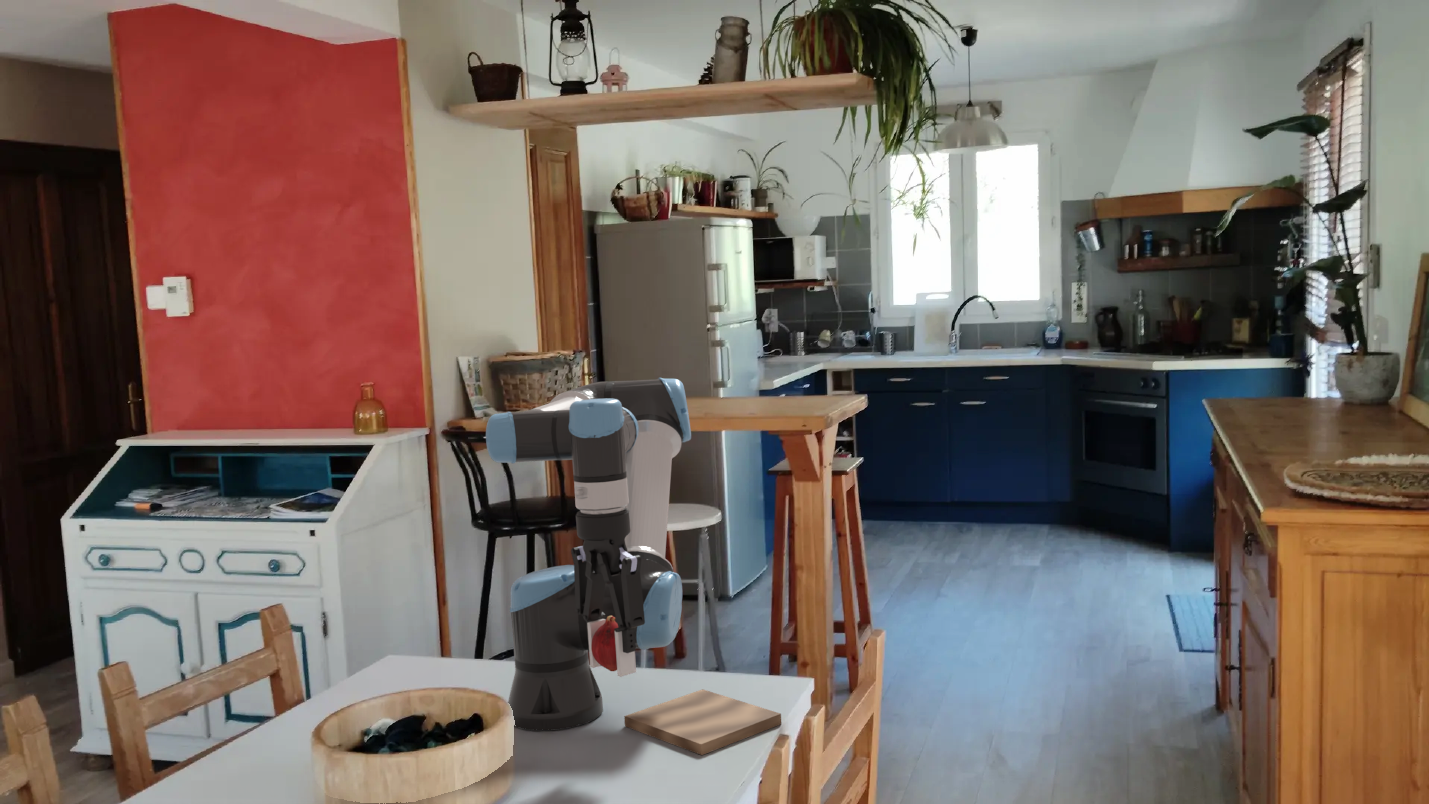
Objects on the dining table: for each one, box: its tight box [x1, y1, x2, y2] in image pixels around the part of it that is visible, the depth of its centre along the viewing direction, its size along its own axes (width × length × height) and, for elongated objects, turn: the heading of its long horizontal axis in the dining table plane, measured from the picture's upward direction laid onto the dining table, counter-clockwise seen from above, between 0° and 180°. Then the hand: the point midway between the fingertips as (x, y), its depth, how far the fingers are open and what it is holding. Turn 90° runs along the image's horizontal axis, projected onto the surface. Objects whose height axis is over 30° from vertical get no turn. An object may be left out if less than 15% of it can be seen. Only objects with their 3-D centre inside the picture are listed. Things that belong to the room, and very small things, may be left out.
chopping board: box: [623, 689, 782, 756], centre depth 177 cm, size 18×16×2 cm
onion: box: [591, 616, 618, 672], centre depth 165 cm, size 6×6×8 cm
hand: (612, 669), depth 165 cm, fingers closed on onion, 6 cm apart
